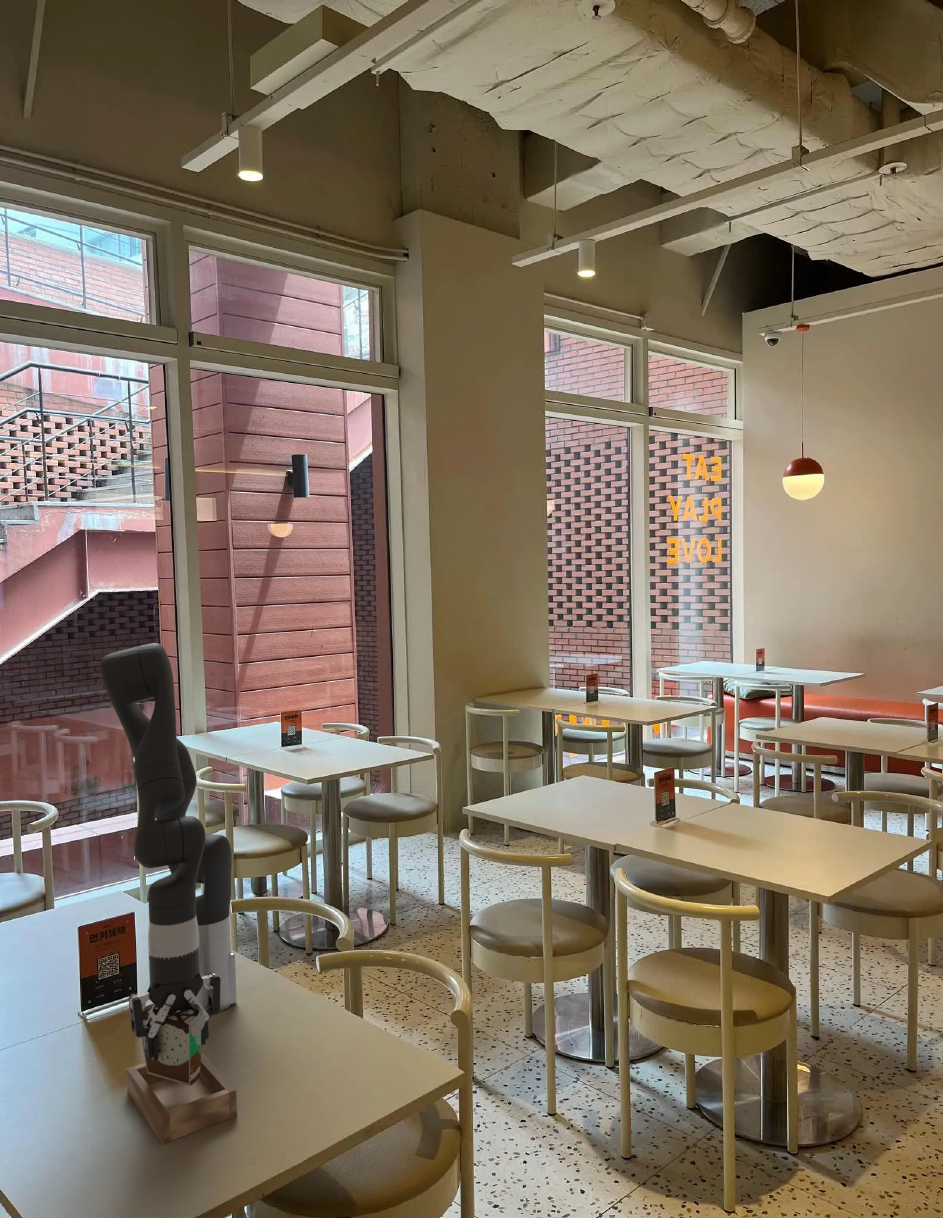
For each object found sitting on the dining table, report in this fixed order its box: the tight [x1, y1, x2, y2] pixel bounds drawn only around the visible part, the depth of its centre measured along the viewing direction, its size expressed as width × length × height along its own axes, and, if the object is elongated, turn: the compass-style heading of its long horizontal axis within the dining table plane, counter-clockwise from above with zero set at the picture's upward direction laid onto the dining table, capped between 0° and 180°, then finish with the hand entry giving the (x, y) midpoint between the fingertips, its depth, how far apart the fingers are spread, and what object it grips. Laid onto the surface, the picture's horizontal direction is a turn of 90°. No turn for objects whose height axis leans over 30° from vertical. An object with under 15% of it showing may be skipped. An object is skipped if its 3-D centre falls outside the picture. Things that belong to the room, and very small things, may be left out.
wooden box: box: [126, 1051, 238, 1145], centre depth 145 cm, size 11×17×4 cm, turn 36°
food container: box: [140, 1003, 205, 1086], centre depth 145 cm, size 12×6×10 cm, turn 61°
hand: (177, 1050), depth 145 cm, fingers closed on food container, 7 cm apart
